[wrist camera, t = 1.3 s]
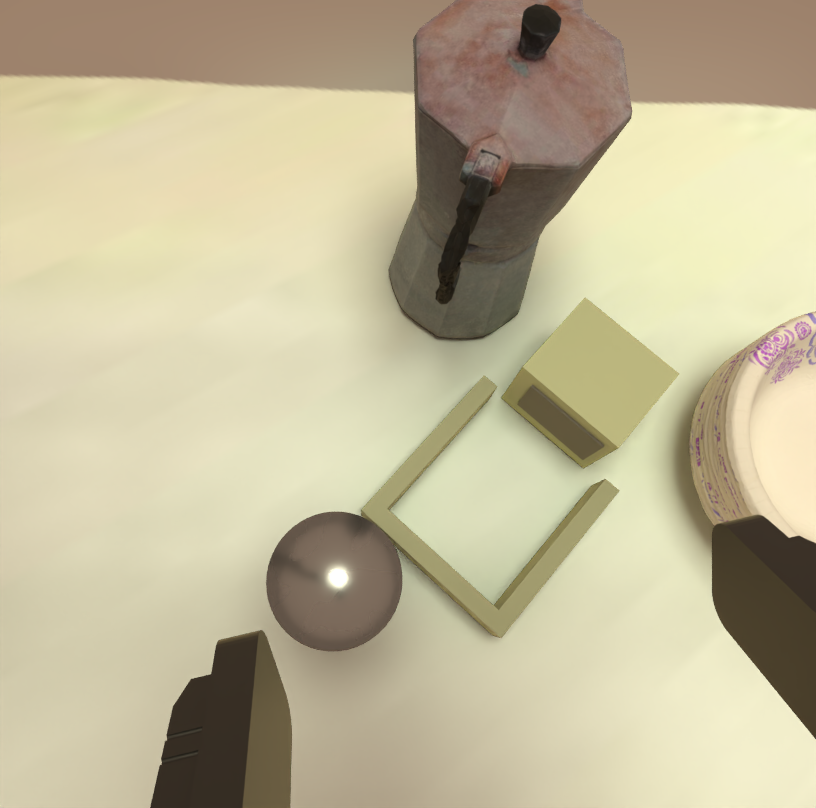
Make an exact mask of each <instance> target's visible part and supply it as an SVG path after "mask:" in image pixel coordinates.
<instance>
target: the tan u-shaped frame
mask: <svg viewBox="0 0 816 808" xmlns="http://www.w3.org/2000/svg"><path fill="white" fill-rule="evenodd" d="M678 375H679V373H678V372H676V371H675V370H674V369H673V368H671V367H670V366H669V365H668V364H666V363H665V362H664V361H663V360H662V359H660V358H659V357H658V356H657V355H655V354H654V353H653V352H652V351H650V350H649V349H648V348H647V347H646V346H644V345H643V344H642V343H641V342H639V341H638V340H637V339H636V338H634V337H633V336H632V335H631V334H630V333H628V332H627V331H626V330H625V329H623V328H622V327H621V326H620V325H618V324H617V323H616V322H615V321H614V320H612V319H611V318H610V317H609V316H607V315H606V314H605V313H604V312H602V311H601V310H600V309H599V308H598V307H596V306H595V305H594V304H593V303H591V302H590V301H589V300H588V299H586V298H584V299H583V300H582V301H581V303H580V304H579V305H578V306H577V307H576V308H575V309H574V310H573V311H572V313H571V314H570V315H569V316H568V317H567V318H566V319H565V320H564V321H563V323H562V324H561V325H560V326H559V327H558V328H557V329H556V330H555V331H554V333H553V334H552V335H551V336H550V337H549V338H548V339H547V340H546V341H545V343H544V344H543V345H542V346H541V347H540V348H539V349H538V350H537V351H536V353H535V354H534V355H533V356H532V357H531V358H530V359H529V360H528V361H527V363H526V364H525V365H524V366H523V367H522V368H521V370H520V371H519V373H518V374H517V376H516V377H515V379H514V380H513V382H512V383H511V384H510V386H509V387H508V389H507V390H506V392H505V393H504V395H503V396H502V399H503V400H504V401H505V402H507V403H508V404H509V405H510V406H511V407H512V408H514V409H515V410H516V411H517V412H518V413H519V414H521V415H522V416H523V417H524V418H525V419H526V420H528V421H529V422H530V423H531V424H532V425H533V426H535V427H536V428H537V429H538V430H539V431H540V432H542V433H543V434H544V435H545V436H546V437H547V438H549V439H550V440H551V441H552V442H553V443H554V444H556V445H557V446H558V447H559V448H560V449H561V450H563V451H564V452H565V453H566V454H567V455H568V456H570V457H571V458H572V459H573V460H574V461H575V462H577V463H578V464H579V465H580V466H581V467H583V468H585V467H587V466H589V465H590V464H592V463H594V462H595V461H597V460H599V459H601V458H602V457H604V456H606V455H607V454H609V453H611V452H613V451H614V450H616V449H618V448H619V447H620V446H621V445H622V443H623V442H624V441H625V440H626V438H627V437H628V436H629V435H630V434H631V432H632V431H633V430H634V429H635V427H636V426H637V425H638V424H639V423H640V421H641V420H642V419H643V418H644V416H645V415H646V414H647V413H648V412H649V410H650V409H651V408H652V407H653V405H654V404H655V403H656V402H657V401H658V399H659V398H660V397H661V396H662V394H663V393H664V392H665V391H666V390H667V388H668V387H669V386H670V385H671V383H672V382H673V381H674V380H675V379H676V377H677V376H678ZM496 388H497V386H496V385H495V384H494V383H493V382H491V381H490V380H489V379H488V378H487V377H486V376H483V377H482V378H481V379H480V381H479V382H478V383H477V384H476V385H475V386H474V387H473V388H472V389H471V390H470V391H469V393H468V394H467V395H466V396H465V397H464V398H463V399H462V400H461V401H460V402H459V404H458V405H457V406H456V407H455V408H454V409H453V410H452V411H451V412H450V413H449V414H448V416H447V417H446V418H445V419H444V420H443V421H442V422H441V423H440V424H439V425H438V426H437V428H436V429H435V430H434V431H433V432H432V433H431V434H430V435H429V436H428V437H427V438H426V440H425V441H424V442H423V443H422V444H421V445H420V446H419V447H418V448H417V449H416V451H415V452H414V453H413V454H412V455H411V456H410V457H409V458H408V459H407V460H406V461H405V463H404V464H403V465H402V466H401V467H400V468H399V469H398V470H397V471H396V472H395V473H394V475H393V476H392V477H391V478H390V479H389V480H388V481H387V482H386V483H385V484H384V486H383V487H382V488H381V489H380V490H379V491H378V492H377V493H376V494H375V495H374V496H373V498H372V499H371V500H370V501H369V502H368V503H367V504H366V505H365V506H364V507H363V508H362V510H361V515H362V516H363V517H364V518H365V519H367V520H369V521H370V522H372V523H374V524H375V525H376V526H377V527H379V528H380V529H381V530H382V531H383V532H384V533H385V534H386V535H387V537H388V538H389V539H390V541H391V542H392V544H394V545H395V546H396V547H397V548H398V549H399V550H400V551H401V552H402V553H403V554H404V555H406V556H407V557H408V558H409V559H410V560H411V561H412V562H413V563H414V564H415V565H416V566H418V567H419V568H420V569H421V570H422V571H423V572H424V573H425V574H426V575H427V576H428V577H430V578H431V579H432V580H433V581H434V582H435V583H436V584H437V585H438V586H439V587H440V588H441V589H443V590H444V591H445V592H446V593H447V594H448V595H449V596H450V597H451V598H452V599H453V600H455V601H456V602H457V603H458V604H459V605H460V606H461V607H462V608H463V609H464V610H465V611H467V612H468V613H469V614H470V615H471V616H472V617H473V618H474V619H475V620H476V621H477V622H479V623H480V624H481V625H482V626H483V627H484V628H485V629H486V630H487V631H488V632H489V633H490V634H492V635H493V636H496V637H499V638H502V636H503V635H504V634H505V633H506V631H507V630H508V629H509V628H510V626H511V625H512V624H513V623H514V621H515V620H516V619H517V618H518V617H519V615H520V614H521V613H522V612H523V610H524V609H525V608H526V607H527V605H528V604H529V603H530V602H531V600H532V599H533V598H534V597H535V595H536V594H537V593H538V592H539V590H540V589H541V588H542V587H543V585H544V584H545V583H546V582H547V580H548V579H549V578H550V577H551V575H552V574H553V573H554V572H555V570H556V569H557V568H558V567H559V565H560V564H561V563H562V562H563V560H564V559H565V558H566V557H567V555H568V554H569V553H570V552H571V550H572V549H573V548H574V547H575V545H576V544H577V543H578V542H579V541H580V539H581V538H582V537H583V536H584V534H585V533H586V532H587V531H588V529H589V528H590V527H591V526H592V524H593V523H594V522H595V521H596V519H597V518H598V517H599V516H600V514H601V513H602V512H603V511H604V509H605V508H606V507H607V506H608V504H609V503H610V502H611V501H612V499H613V498H614V497H615V496H616V494H617V493H618V492H619V490H618V489H617V488H616V487H614V486H613V485H612V484H611V483H610V482H609V481H607V480H606V479H604V480H602V481H600V482H598V483H596V484H594V485H592V486H591V487H590V488H589V489H588V491H587V492H586V493H585V494H584V495H583V497H582V498H581V499H580V500H579V502H578V503H577V504H576V505H575V506H574V508H573V509H572V510H571V511H570V513H569V514H568V515H567V516H566V517H565V519H564V520H563V521H562V522H561V524H560V525H559V526H558V527H557V528H556V530H555V531H554V532H553V533H552V535H551V536H550V537H549V538H548V539H547V541H546V542H545V543H544V544H543V546H542V547H541V548H540V549H539V551H538V552H537V553H536V554H535V555H534V557H533V558H532V559H531V560H530V562H529V563H528V564H527V565H526V566H525V568H524V569H523V570H522V571H521V573H520V574H519V575H518V576H517V577H516V579H515V580H514V581H513V582H512V584H511V585H510V586H509V587H508V588H507V590H506V591H505V592H504V593H503V595H502V596H501V597H500V598H499V599H498V601H497V602H496V603H495V604H494V605H493V604H491V603H490V602H489V601H488V600H487V599H486V598H485V597H484V596H483V595H482V594H480V593H479V592H478V591H477V590H476V589H475V588H474V587H473V586H472V585H471V584H469V583H468V582H467V581H466V580H465V579H464V578H463V577H462V576H461V575H460V574H458V573H457V572H456V571H455V570H454V569H453V568H452V567H451V566H450V565H449V564H447V563H446V562H445V561H444V560H443V559H442V558H441V557H440V556H439V555H438V554H436V553H435V552H434V551H433V550H432V549H431V548H430V547H429V546H428V545H427V544H425V543H424V542H423V541H422V540H421V539H420V538H419V537H418V536H417V535H416V534H415V533H413V532H412V531H411V530H410V529H409V528H408V527H407V526H406V525H405V524H404V523H402V522H401V521H400V520H399V519H398V518H397V517H396V516H395V515H394V514H393V513H391V512H390V511H389V510H390V509H391V507H392V506H393V505H394V504H395V503H396V502H397V501H398V500H399V499H400V498H401V496H402V495H403V494H404V493H405V492H406V491H407V490H408V489H409V488H410V486H411V485H412V484H413V483H414V482H415V481H416V480H417V479H418V478H419V476H420V475H421V474H422V473H423V472H424V471H425V470H426V469H427V468H428V466H429V465H430V464H431V463H432V462H433V461H434V460H435V459H436V458H437V456H438V455H439V454H440V453H441V452H442V451H443V450H444V449H445V448H446V446H447V445H448V444H449V443H450V442H451V441H452V440H453V439H454V438H455V437H456V435H457V434H458V433H459V432H460V431H461V430H462V429H463V428H464V427H465V425H466V424H467V423H468V422H469V421H470V420H471V419H472V418H473V417H474V415H475V414H476V413H477V412H478V411H479V410H480V409H481V408H482V407H483V405H484V404H485V403H486V402H487V401H488V400H489V399H490V397H491V396H492V394H493V393H494V391H495V389H496Z"/></svg>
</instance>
